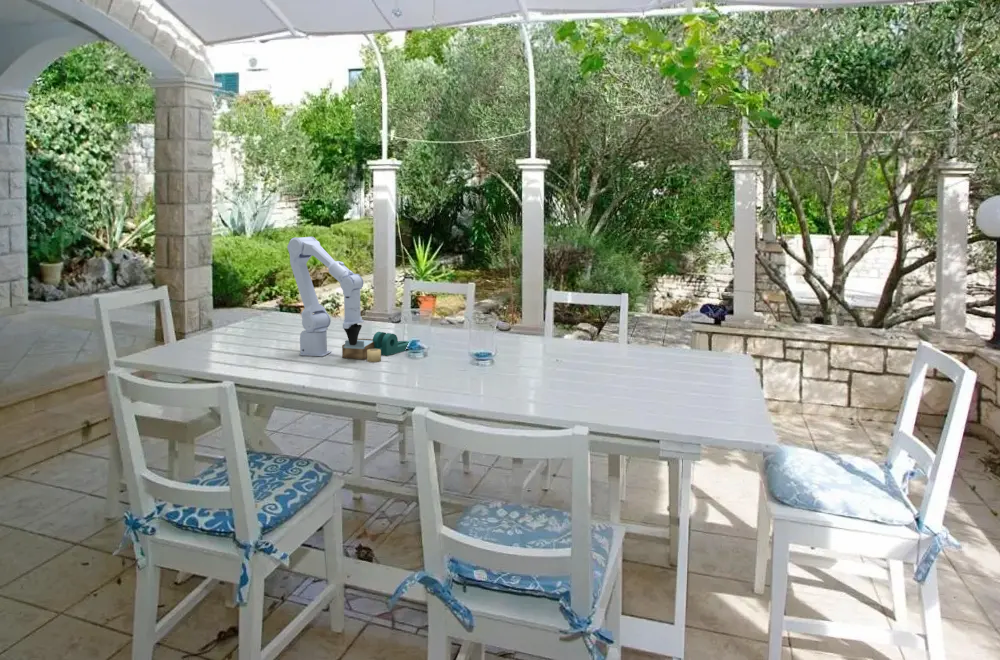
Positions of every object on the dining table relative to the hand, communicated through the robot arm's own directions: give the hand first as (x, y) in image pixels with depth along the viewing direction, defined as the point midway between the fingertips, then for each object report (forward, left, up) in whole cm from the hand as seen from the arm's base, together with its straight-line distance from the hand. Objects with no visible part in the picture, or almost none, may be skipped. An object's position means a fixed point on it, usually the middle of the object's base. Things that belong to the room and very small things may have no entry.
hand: (353, 344), depth 271 cm
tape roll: (+8, 0, -6) cm, 10 cm away
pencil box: (0, +8, -5) cm, 9 cm away
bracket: (+10, +18, -6) cm, 21 cm away
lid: (0, +7, -2) cm, 7 cm away
